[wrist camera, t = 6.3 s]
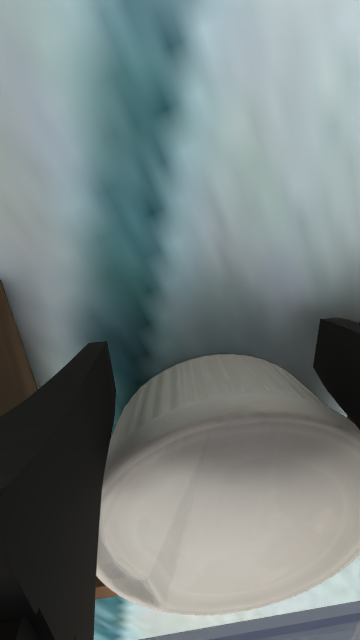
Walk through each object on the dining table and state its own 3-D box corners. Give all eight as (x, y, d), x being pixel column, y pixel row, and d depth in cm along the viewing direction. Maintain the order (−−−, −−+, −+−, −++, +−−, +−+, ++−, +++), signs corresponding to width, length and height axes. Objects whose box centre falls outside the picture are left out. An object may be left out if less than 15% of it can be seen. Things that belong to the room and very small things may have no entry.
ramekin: (52, 387, 14) (5, 500, 9) (291, 289, 13) (378, 355, 8) (155, 524, 18) (160, 645, 14) (334, 458, 18) (404, 562, 13)
